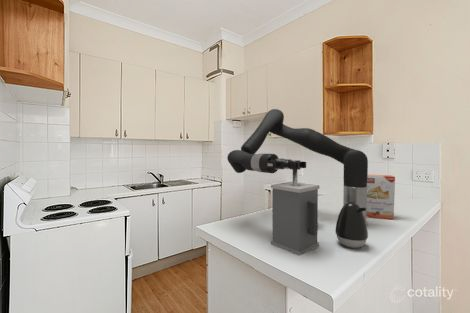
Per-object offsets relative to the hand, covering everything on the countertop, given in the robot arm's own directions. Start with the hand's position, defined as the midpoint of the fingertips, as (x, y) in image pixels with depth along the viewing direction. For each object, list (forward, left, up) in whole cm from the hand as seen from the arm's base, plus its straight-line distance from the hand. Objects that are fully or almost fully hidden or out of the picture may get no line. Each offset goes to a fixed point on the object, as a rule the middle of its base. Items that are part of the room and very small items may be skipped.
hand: (302, 165), depth 79 cm
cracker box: (-59, +3, -29) cm, 66 cm away
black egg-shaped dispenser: (-15, +10, -29) cm, 34 cm away
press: (0, -2, -28) cm, 28 cm away
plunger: (0, -3, -27) cm, 27 cm away
